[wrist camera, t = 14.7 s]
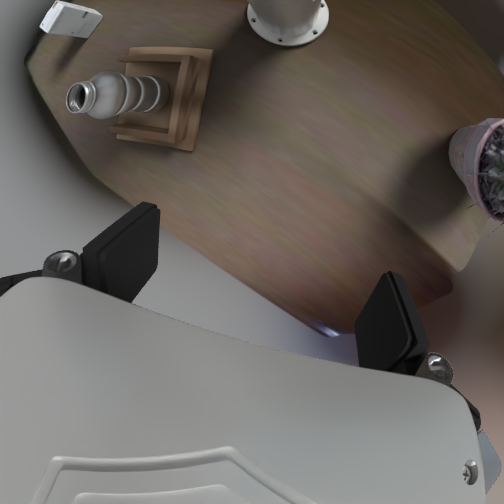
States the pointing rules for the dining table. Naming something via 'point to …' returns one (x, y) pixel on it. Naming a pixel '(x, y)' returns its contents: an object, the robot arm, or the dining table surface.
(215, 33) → the dining table surface
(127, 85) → the silver bottle
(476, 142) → the potted plant
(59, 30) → the skincare box
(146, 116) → the brown tray
